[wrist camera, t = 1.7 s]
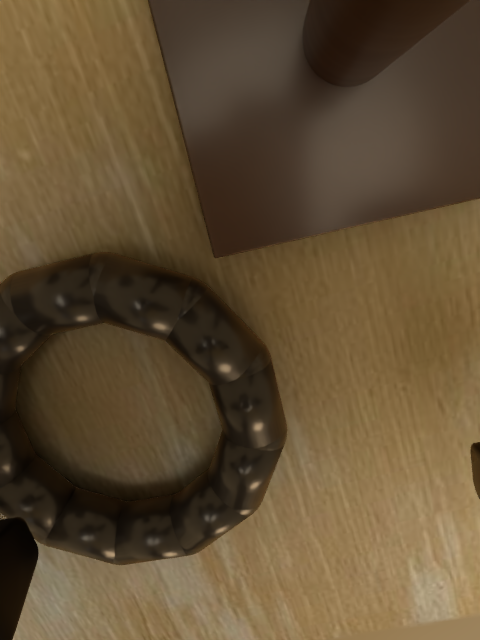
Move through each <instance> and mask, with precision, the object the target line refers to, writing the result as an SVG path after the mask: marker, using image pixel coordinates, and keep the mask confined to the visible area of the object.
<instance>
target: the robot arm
mask: <svg viewBox="0 0 480 640" xmlns="http://www.w3.org/2000/svg"><path fill="white" fill-rule="evenodd" d="M471 463H472V473H473V482H474V486H475V490H476V492H477V495H478V497H479V499H480V442H477V443H473V444H472V446H471ZM37 560H38V546H37V544H36V542H35V540H34V537H33V535H32V533H31V531H30V529H29V527H28V525H27V523H26V521H25V520H24V519H23V518H21V517H14V518H8V519H3V520H0V640H12V639H13V636H14V633H15V630H16V627H17V624H18V621H19V618H20V615H21V612H22V608H23V605H24V602H25V599H26V596H27V592H28V589H29V586H30V583H31V580H32V576H33V573H34V570H35V567H36V564H37Z"/></svg>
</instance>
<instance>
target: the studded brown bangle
mask: <svg viewBox="0 0 480 640" xmlns="http://www.w3.org/2000/svg"><path fill="white" fill-rule="evenodd" d="M102 323H107V324H110V325H113V326H117V327H120V328H123V329H127V330H130V331H134V332H137V333H140V334H144V335H147V336H151V337H154V338H157V339H161V340H164V341H166V342H167V343H168V344H169V345H170V346H171V347H172V348H173V349H174V350H175V351H176V352H177V353H178V354H179V355H181V356H182V357H183V358H184V359H185V360H186V361H187V362H188V363H189V364H190V365H191V366H192V367H193V368H194V369H195V370H196V371H197V372H198V373H199V374H200V375H201V376H202V377H203V378H205V379H206V380H207V381H208V382H209V385H210V388H211V392H212V395H213V399H214V402H215V406H216V409H217V413H218V416H219V420H220V423H221V427H222V432H221V435H220V438H219V441H218V444H217V447H216V450H215V453H214V456H213V459H212V462H211V465H210V468H209V469H208V470H206V471H205V472H204V473H203V474H201V475H200V476H199V477H197V478H196V479H195V480H194V481H192V482H191V483H190V484H188V485H187V486H186V487H185V488H183V489H182V490H181V491H179V492H178V493H177V494H173V495H167V496H161V497H155V498H148V499H142V500H136V501H130V502H127V501H123V500H120V499H116V498H112V497H109V496H105V495H102V494H98V493H94V492H91V491H87V490H84V489H80V488H76V487H75V486H74V485H73V484H71V483H70V482H69V481H68V480H67V479H65V478H64V477H63V476H62V475H61V474H59V473H58V472H57V471H56V470H54V469H53V468H52V467H51V466H50V465H48V464H47V463H46V462H45V461H44V460H42V459H41V458H40V457H39V456H37V455H36V454H35V452H34V450H33V448H32V446H31V443H30V441H29V439H28V437H27V434H26V432H25V430H24V428H23V425H22V423H21V421H20V419H19V416H18V414H17V412H16V410H15V405H16V398H17V391H18V384H19V377H20V370H21V365H22V364H23V363H24V362H25V361H26V360H27V359H28V358H29V357H30V356H31V355H32V354H33V353H34V352H35V351H36V350H37V349H38V348H39V347H40V346H41V345H42V344H43V343H44V342H45V341H46V340H47V339H48V338H49V337H50V336H51V335H52V334H55V333H60V332H65V331H69V330H74V329H79V328H83V327H88V326H92V325H97V324H102ZM286 437H287V424H286V420H285V415H284V411H283V407H282V403H281V398H280V394H279V390H278V386H277V381H276V377H275V373H274V369H273V364H272V360H271V356H270V353H269V351H268V349H267V347H266V345H265V344H264V343H263V342H262V341H261V340H260V339H259V338H258V337H257V335H256V334H255V333H254V332H253V331H252V330H251V329H250V328H249V327H248V326H247V325H246V324H245V323H244V322H243V321H242V320H241V319H240V318H239V317H238V316H237V315H236V314H235V313H234V312H233V311H232V310H231V309H230V308H229V307H228V306H227V305H226V304H225V303H224V302H223V301H222V300H221V299H220V298H219V297H218V296H217V295H216V294H215V293H214V292H213V291H212V290H211V289H210V288H209V287H208V286H207V285H206V284H205V283H204V282H202V281H200V280H199V279H197V278H194V277H191V276H188V275H184V274H181V273H178V272H175V271H171V270H168V269H165V268H161V267H158V266H155V265H151V264H148V263H145V262H141V261H138V260H135V259H132V258H128V257H125V256H122V255H118V254H115V253H110V252H100V253H94V254H90V255H85V256H81V257H77V258H73V259H69V260H64V261H60V262H56V263H52V264H48V265H43V266H39V267H35V268H31V269H27V270H22V271H19V272H16V273H14V274H12V275H10V276H9V277H7V278H6V279H5V280H4V281H3V282H2V283H1V284H0V513H2V514H3V515H4V516H6V517H7V518H14V517H21V518H23V519H24V520H25V521H26V523H27V525H28V527H29V529H30V531H31V533H32V535H33V537H34V539H35V540H37V541H38V542H40V543H41V544H43V545H46V546H48V547H52V548H56V549H59V550H63V551H67V552H70V553H74V554H78V555H82V556H85V557H89V558H93V559H96V560H100V561H104V562H107V563H111V564H116V565H126V564H133V563H140V562H147V561H154V560H161V559H168V558H175V557H182V556H189V555H193V554H196V553H198V552H200V551H201V550H203V549H204V548H205V547H207V546H208V545H210V544H211V543H212V542H214V541H215V540H217V539H218V538H219V537H221V536H222V535H224V534H225V533H226V532H228V531H229V530H231V529H232V528H233V527H235V526H236V525H238V524H239V523H240V522H242V521H243V520H245V519H246V518H247V517H249V516H250V515H252V514H253V513H254V512H255V511H256V510H257V509H258V507H259V506H260V505H261V502H262V500H263V498H264V495H265V493H266V490H267V488H268V485H269V482H270V480H271V477H272V475H273V472H274V470H275V467H276V465H277V462H278V459H279V457H280V454H281V452H282V449H283V447H284V444H285V441H286Z"/></svg>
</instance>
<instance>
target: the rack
mask: <svg viewBox="0 0 480 640" xmlns="http://www.w3.org/2000/svg"><path fill="white" fill-rule="evenodd" d="M148 3H149V7H150V10H151V14H152V18H153V22H154V26H155V30H156V34H157V38H158V41H159V45H160V49H161V53H162V57H163V61H164V65H165V69H166V72H167V76H168V80H169V84H170V88H171V92H172V96H173V100H174V103H175V107H176V111H177V115H178V119H179V123H180V127H181V130H182V134H183V138H184V142H185V146H186V150H187V154H188V158H189V161H190V165H191V169H192V173H193V177H194V181H195V185H196V189H197V192H198V196H199V200H200V204H201V208H202V212H203V216H204V220H205V223H206V227H207V231H208V235H209V239H210V243H211V247H212V251H213V254H214V257H215V258H220V257H224V256H229V255H233V254H237V253H242V252H246V251H251V250H255V249H259V248H264V247H268V246H273V245H277V244H281V243H286V242H290V241H295V240H299V239H303V238H308V237H312V236H317V235H321V234H325V233H330V232H334V231H339V230H343V229H347V228H352V227H356V226H361V225H365V224H369V223H374V222H378V221H382V220H387V219H391V218H396V217H400V216H404V215H409V214H413V213H418V212H422V211H426V210H431V209H435V208H440V207H444V206H448V205H453V204H457V203H462V202H466V201H470V200H475V199H479V198H480V0H148Z"/></svg>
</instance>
